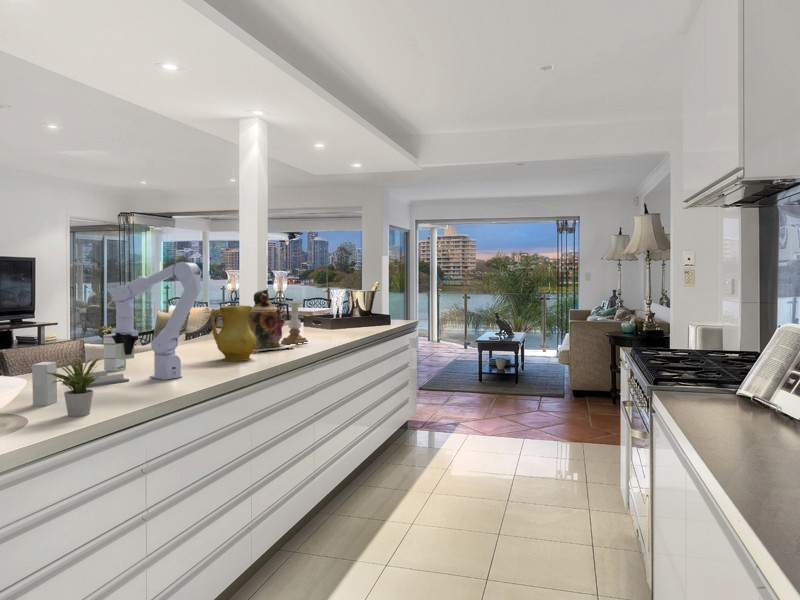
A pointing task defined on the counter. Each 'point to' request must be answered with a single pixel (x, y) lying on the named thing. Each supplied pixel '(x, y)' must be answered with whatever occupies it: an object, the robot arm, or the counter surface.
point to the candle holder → (294, 325)
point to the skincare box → (44, 383)
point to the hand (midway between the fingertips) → (124, 354)
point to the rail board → (104, 378)
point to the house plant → (78, 388)
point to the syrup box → (111, 355)
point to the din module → (122, 352)
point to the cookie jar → (266, 323)
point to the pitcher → (234, 333)
